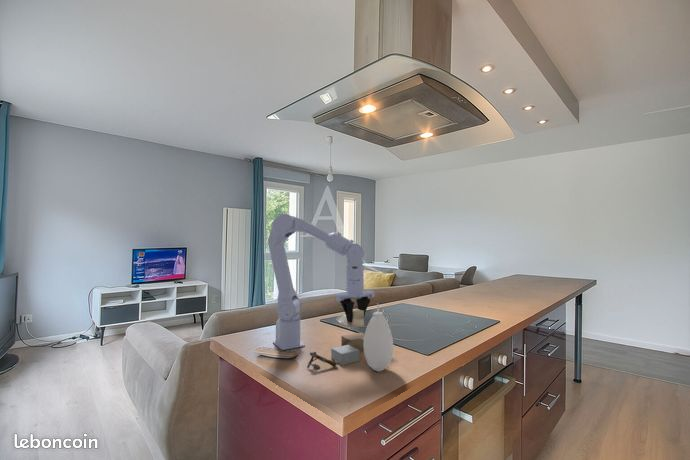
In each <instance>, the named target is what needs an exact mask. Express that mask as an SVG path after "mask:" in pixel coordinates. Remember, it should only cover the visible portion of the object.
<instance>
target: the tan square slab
mask: <svg viewBox="0 0 690 460" xmlns="http://www.w3.org/2000/svg"><path fill="white" fill-rule="evenodd" d="M364 336H365V333H363V332H355V333H351V334H346V335H341V345H340V346H344V345H350V346H352V347H354V348H356V349H358V350H359V352H360V351H364V347H363V345H364Z"/></svg>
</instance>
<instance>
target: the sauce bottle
mask: <svg viewBox="0 0 690 460" xmlns="http://www.w3.org/2000/svg"><path fill="white" fill-rule="evenodd" d="M376 306H377V307H376V311H374V312H373V314H372V315H373V316H372V317H371V318H370V319H369V321H368V323H367V326H366V329H365V332H364V334H365V336H364V345H363V347H364V350H363V354H364V355H363V356H364V357H365V361H366V362H367V365H368V366H369V367H371V369H372V370H373V371H375V372H382V371H384V370H386V368H388V367H389V365H390V363H391V361H392V359H393V355H394V354H393V353H394V339H393V333H392V330H391V327H390V325H389V323H388V321H387V319H386V318H385V317H384V312H381V311H380V307H379V303H377V305H376Z"/></svg>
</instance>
